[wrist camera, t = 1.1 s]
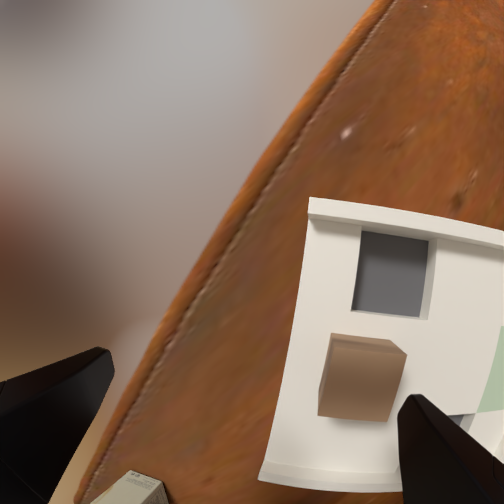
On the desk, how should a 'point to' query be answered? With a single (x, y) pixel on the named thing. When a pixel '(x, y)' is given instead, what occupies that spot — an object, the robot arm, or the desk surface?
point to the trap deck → (390, 338)
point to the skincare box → (134, 491)
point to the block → (360, 378)
